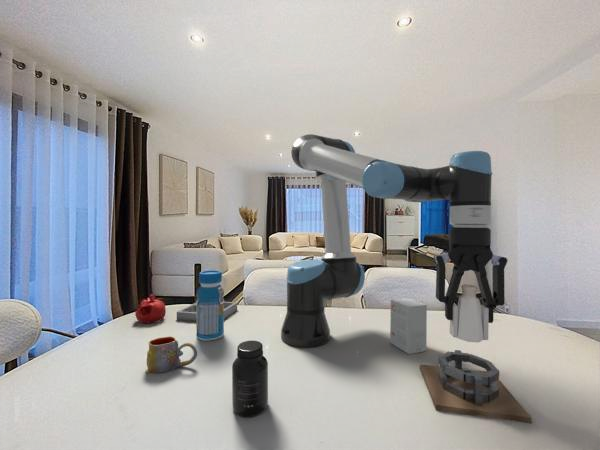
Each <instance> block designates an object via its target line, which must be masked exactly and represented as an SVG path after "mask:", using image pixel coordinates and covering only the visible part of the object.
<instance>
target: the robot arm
mask: <svg viewBox="0 0 600 450" xmlns="http://www.w3.org/2000/svg"><path fill="white" fill-rule="evenodd" d="M290 152H291V154H290V155H291V159H292V162H293V163H294V164H295V165H296V166H297V167H299V168H300V169H302V170H306V171H309V172H315V175H316V180H317V181H318V182H319V183H320V187H321V201H322V202H321V203H322V216H323V218H322V219H323V231H324V232H323V234H324V249H325V250H324V251H325V252H324V254H323V255H322V256H321V259H305V260H299V261H295V262H293V263H291V264H290V265H289V266H288V268H287V272H286V273H287V274H286V314H285V318H284V320H283V323H282V327H281V328H280V329H281V330H280V339H281V340H282V342H284V343H286V344H287V345H290V346H293V347H297V348H298V347H299V348H315V347H319V346H323V345H325V344H327V343H328V342H330V340H331V330H330V327H329V323H328V320H327V316H326V314H325V313H326V311H325V303H326V301H329V300H336V299H341V298H344V299H345V298H350V297H352V296H356V295H357V294H358V293H360V292H361V290H362V289H363V287H364V285H365V280H366V273H365V270H364V268H363V267H362V264H361V263H360V262H359V261H357V256H356V255H355V254H354V253H353V251H352V248H351V232H350V219H349V218H350V217H349V205H348V191H347V183H348V184H349V185H353V186H355V187H358V188H361V189H363V190H364V191H365V193H366V194H367V195H368V196H370V197H372V198H378V199H382V200H387V199H389V200H390V199H391V200H404V201H405V202H409V203H412V202H413V203H424V202H432V201H434V202H435V201H449V225H451V226H452V227H450V228H449V231H448V232H449V239H448V240H449V241H448V242H449V244H448V249H447V251H446V252H445V253H442V254H434V255H433V258H434V262H435V265H436V271H435V272H436V277H435V278H436V279H435V299H437V300H438V301H439V302H440V303H444V317H445V319H447V321H449V334H450V335H451V336H452V337H453V338H456V339H458V338H457V330H458V305H457V304H455V301H456V298H457V295H458V291H459V288H460V286H461V285H460V284H461V281H462V277H463V276H464V274H465V272H469V271H473V273H474V275H475V277H476V281H477V286H478V289H479V291H480V295H481V299H482V302H483V304H480V309H481V318H482V328H483V337H484V340H483V341H489V324H493V322H494V310H496V309H497V306H504V305H505V268H506V265H507V263H508V258H507V257H505V256H501V255H496V254H494V252H493V251H492V249H491V241H492V238H491V236H492V230H491V229H490V227H488V226H489V225H491V224H492V223H491V222H492V221H491V220H492V218H491V217H492V198H491V197H492V175H493V171H492V160H491V159H492V157H491V155H490V153H489V152H486V151H483V150H469V151H462V152H457V153H455V154H453V155H451V157H450V159H449V165H445V166H443V167H442V166H441V167H434V168H422V167H415V166H410V165H404V164H399V163H395V162H390V161H386V160H382V159H379V158H375V157H371V156H367V155H364V154H360V153H357V152H356V151H355V148H354V146H353V145H352V144H351V143H349V142H347V141H344V140H343V139H339V138H332V137H326V136H322V135H317V134H312V133H311V134H310V133H309V134H304V135H302V136H299V137H298V138H297V139H296V140H295V142H294V143H293V144H292V147H291V151H290ZM448 259H449V260H450V261H451V262H452V264H453V267H452V273H451V276H450V280H449V283H448V286H447V289H446V269H447V267H446V265H447V263H448ZM490 261H491V265H492V269H491V270H492V289H491V287H490V284H489V280H488V277H487V269H486V265H488V263H489V262H490Z"/></svg>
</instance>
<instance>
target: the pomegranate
mask: <svg viewBox="0 0 600 450" xmlns="http://www.w3.org/2000/svg"><path fill="white" fill-rule="evenodd" d="M163 299H164V298H161V297H159V298H156V299H155V296H154V295H153V294H150V295H149V297H146V298H145V299H143V300H142V299H141V300H139V302H140V303H139V305H138V306H137V309H136V311H135V318H136V320H137V321H138V322H139V323H143V324H153V323H157V322H159V321H162V320H163V319H164V318H165V317H166V313H167V311H166V304H165V303H164V302H163V301H162V300H163Z"/></svg>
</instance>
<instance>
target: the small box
mask: <svg viewBox="0 0 600 450" xmlns="http://www.w3.org/2000/svg"><path fill="white" fill-rule="evenodd" d="M427 306H428V305H427V304H425V303H422V302H419V301H417V300H414V299H410V298H405V297H403V298H393V299H392V298H391V299H390V327H389V328H390V330H389V331H390V332H389V333H390V338H389V342H390V344H391V345H393V346H395V347H396V348H398V349H400V350H401V351H403V352H405V353H406V354H408V355H413V354H418V353H422V352H426V351H427V335H428V334H427V323H428V322H427V321H428V320H427V319H428V317H427V313H428V312H427Z"/></svg>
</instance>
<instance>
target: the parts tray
mask: <svg viewBox="0 0 600 450" xmlns="http://www.w3.org/2000/svg"><path fill="white" fill-rule="evenodd" d="M194 304H196V302H194V303H192V304H190V305H188V306H186V307H184V308H182V309H180V310H178V311H176V321H179V322H180V321H182V322H190V323H191V322H193V323H197V313H196V312H191V306H192V305H194ZM237 311H238V302H236V301H235V302H232V301H224V320H225V319H227V318H229V316H231V315H232V314H233V313H235V312H237Z"/></svg>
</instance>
